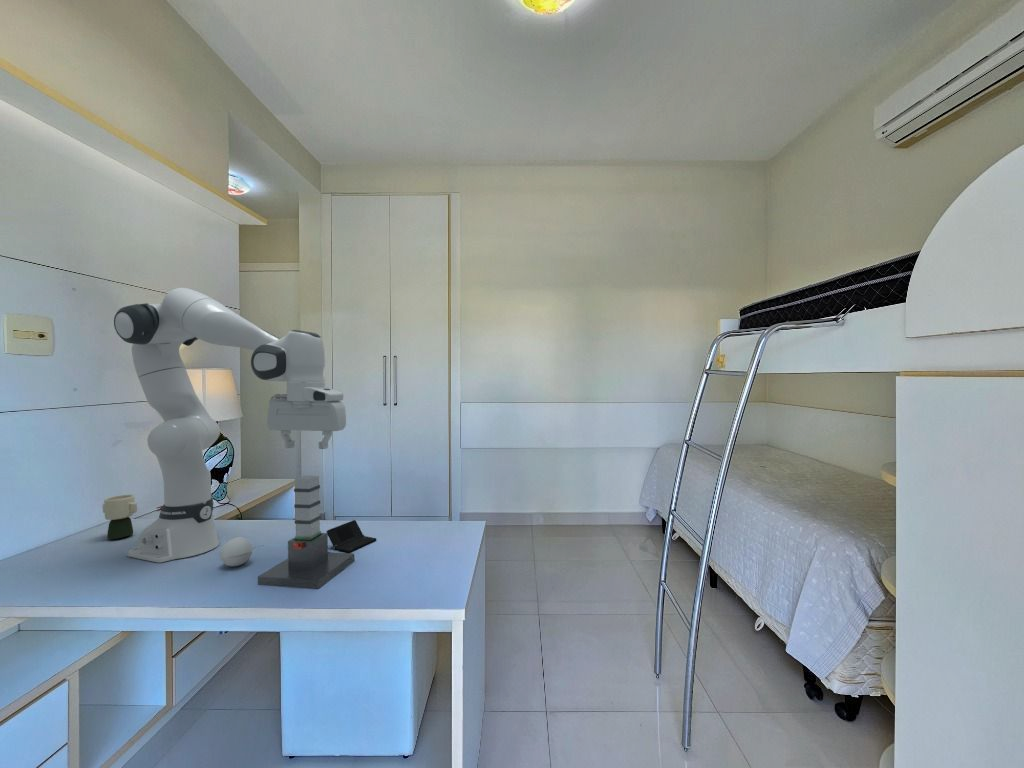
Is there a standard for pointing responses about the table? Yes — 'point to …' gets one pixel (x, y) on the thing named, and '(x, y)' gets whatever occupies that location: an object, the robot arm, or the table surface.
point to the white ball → (236, 551)
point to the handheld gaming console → (348, 537)
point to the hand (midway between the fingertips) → (306, 448)
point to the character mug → (119, 515)
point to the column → (307, 508)
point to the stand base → (307, 565)
